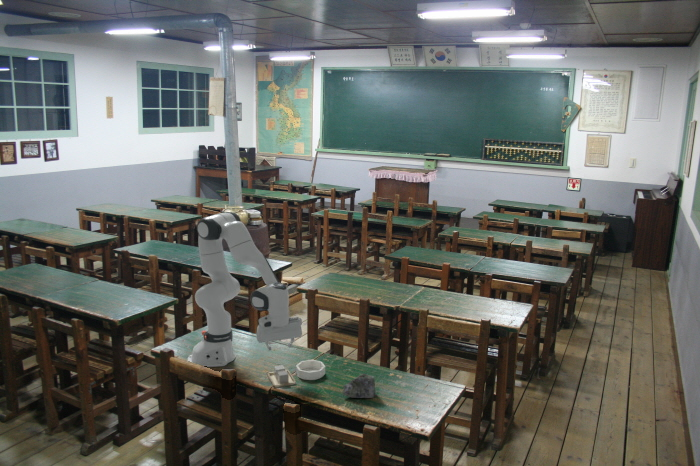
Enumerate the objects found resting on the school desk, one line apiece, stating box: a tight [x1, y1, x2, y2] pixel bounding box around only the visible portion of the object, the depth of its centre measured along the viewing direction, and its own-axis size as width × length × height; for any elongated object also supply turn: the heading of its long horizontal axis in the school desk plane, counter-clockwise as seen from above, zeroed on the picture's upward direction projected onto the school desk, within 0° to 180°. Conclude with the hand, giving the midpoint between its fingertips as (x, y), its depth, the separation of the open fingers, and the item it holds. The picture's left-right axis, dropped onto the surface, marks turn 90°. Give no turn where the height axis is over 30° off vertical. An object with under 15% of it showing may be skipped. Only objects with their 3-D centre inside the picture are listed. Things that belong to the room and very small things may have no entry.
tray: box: [266, 369, 297, 388], centre depth 245 cm, size 10×13×2 cm
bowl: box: [295, 359, 326, 381], centre depth 251 cm, size 12×12×4 cm
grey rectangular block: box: [277, 371, 289, 384], centre depth 242 cm, size 4×4×4 cm
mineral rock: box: [342, 373, 376, 399], centre depth 232 cm, size 13×11×10 cm
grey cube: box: [273, 364, 286, 379], centre depth 247 cm, size 4×4×4 cm
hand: (279, 348), depth 245 cm, fingers open, 8 cm apart
